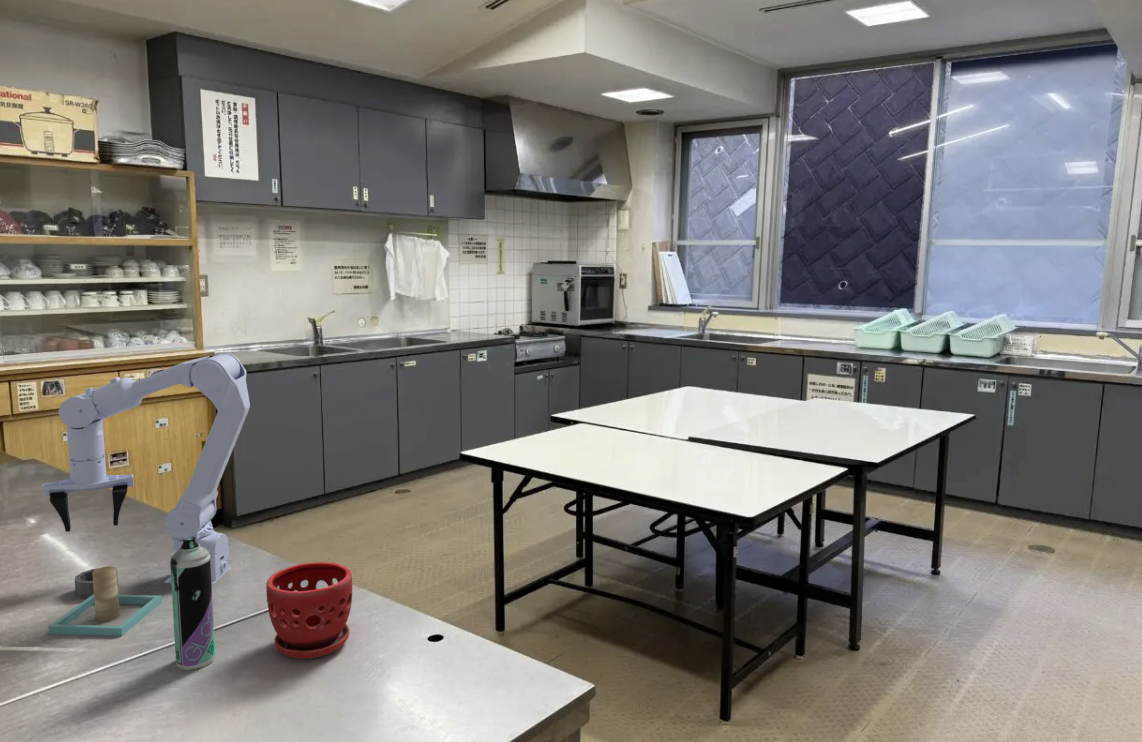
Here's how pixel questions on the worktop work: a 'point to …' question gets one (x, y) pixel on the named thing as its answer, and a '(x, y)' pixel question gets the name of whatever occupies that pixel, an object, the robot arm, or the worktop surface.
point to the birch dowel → (106, 594)
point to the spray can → (192, 605)
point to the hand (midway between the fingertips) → (92, 526)
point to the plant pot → (310, 609)
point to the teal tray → (65, 628)
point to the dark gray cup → (85, 584)
